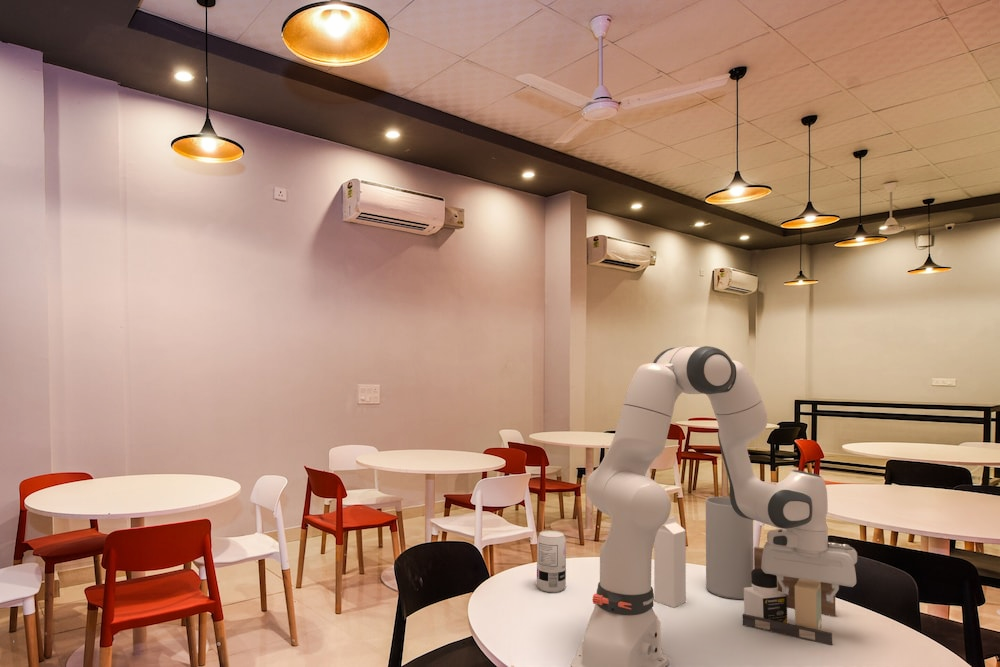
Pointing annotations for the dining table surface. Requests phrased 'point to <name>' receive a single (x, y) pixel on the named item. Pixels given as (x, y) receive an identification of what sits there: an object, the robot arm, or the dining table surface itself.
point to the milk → (670, 564)
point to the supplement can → (551, 561)
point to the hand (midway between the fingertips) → (807, 598)
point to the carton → (808, 604)
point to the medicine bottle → (765, 597)
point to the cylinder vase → (727, 549)
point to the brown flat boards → (791, 628)
